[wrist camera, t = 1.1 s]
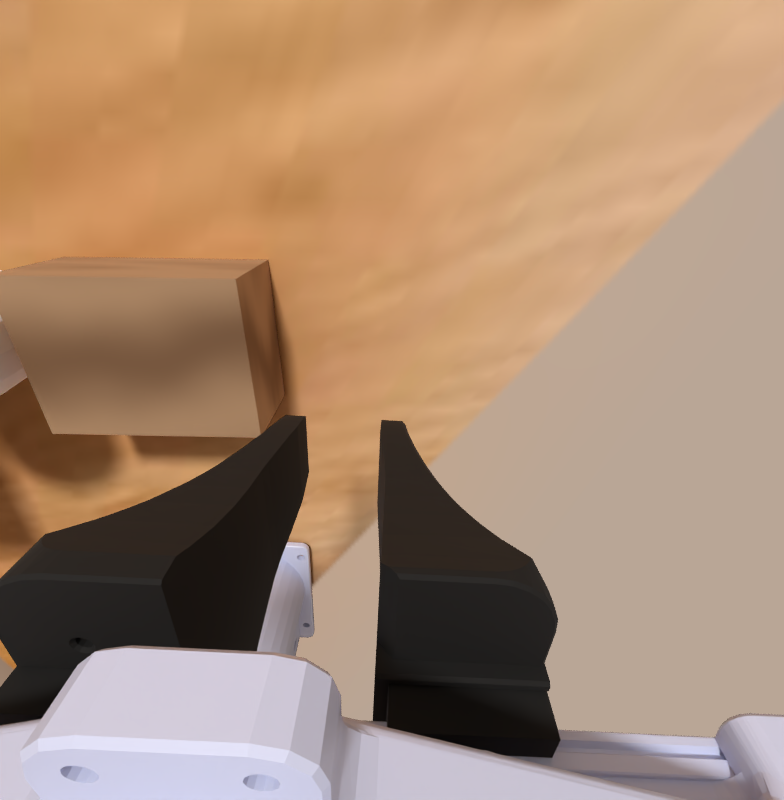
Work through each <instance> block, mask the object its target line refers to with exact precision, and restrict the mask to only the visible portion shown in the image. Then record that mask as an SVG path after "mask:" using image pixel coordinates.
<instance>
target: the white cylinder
mask: <svg viewBox="0 0 784 800" xmlns="http://www.w3.org/2000/svg"><path fill="white" fill-rule="evenodd" d="M0 271H2V270H0ZM26 378H27V375H26V373H25V370H24V368H23V366H22V364H21V361H20V359H19V357H18V354H17V352H16V350H15V348H14V345H13V343H12V341H11V338H10V336H9V334H8V332H7V329H6V327H5V325H4V322H3V320H2V318H1V316H0V396H1V395H2V394H3V393H5V392H6V391H8V390H9V389H11V388H12V387H14V386H15V385H17V384H18V383H20V382H21V381H23V380H24V379H26Z"/></svg>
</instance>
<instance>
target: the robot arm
mask: <svg viewBox="0 0 784 800" xmlns="http://www.w3.org/2000/svg"><path fill="white" fill-rule="evenodd" d="M308 473H309V466H308V449H307V431H306V416H290V415H285V416H284V417H282V418H281V419H280V420H278V421H277V422H276V423H274V424H273V425H272V426H271V427H269V428H268V429H267V430H266V431H264V432H263V433H262V434H261V435H259V436H258V437H257V438H255V439H254V440H253V441H251V442H250V443H249V444H247V445H246V446H245V447H243V448H242V449H240V450H239V451H237V452H236V453H235V454H233V455H232V456H230V457H229V458H227V459H226V460H224V461H223V462H221V463H220V464H218V465H217V466H215V467H213V468H212V469H210V470H208V471H207V472H205V473H203V474H201V475H199V476H198V477H196V478H194V479H192V480H190V481H189V482H187V483H185V484H183V485H180V486H178V487H176V488H174V489H172V490H170V491H167V492H165V493H163V494H161V495H159V496H157V497H154V498H152V499H150V500H148V501H145V502H143V503H140V504H138V505H135V506H132V507H130V508H127V509H125V510H122V511H119V512H116V513H113V514H111V515H108V516H105V517H102V518H99V519H96V520H92V521H89V522H86V523H82V524H79V525H76V526H72V527H69V528H66V529H62V530H59V531H55V532H52V533H48V534H45V535H44V536H43V537H42V538H41V539H40V540H39V541H38V542H37V543H36V544H35V545H34V546H33V547H32V548H31V549H30V550H29V551H28V552H27V553H26V554H25V555H24V556H23V557H22V558H21V559H20V560H19V561H18V562H17V563H16V564H15V565H14V566H13V567H11V568H10V569H9V570H8V571H7V572H6V573H5V574H4V575H3V576H2V577H1V578H0V640H1V641H2V643H3V644H4V646H5V648H6V649H7V651H8V652H9V654H10V655H11V657H12V659H13V660H14V662H15V663H16V665H17V667H16V668H15V669H14V671H13V672H12V673H11V674H10V676H9V677H8V678H7V679H6V681H5V682H4V683H3V685H2V686H1V687H0V800H784V715H772V714H752V713H749V714H739V715H736V716H733V717H730V718H729V719H727V720H726V721H725V722H724V723H723V724H722V725H721V726H720V728H719V730H718V732H717V734H716V737H698V736H677V735H656V734H655V735H654V734H635V733H614V732H592V731H572V730H558V729H557V725H556V722H555V719H554V715H553V711H552V708H551V704H550V701H549V697H548V694H547V691H549V689H550V680H549V677H548V674H547V670H546V667H545V664H544V663H545V660H546V657H547V655H548V651H549V649H550V646H551V644H552V641H553V638H554V636H555V633H556V628H557V622H558V618H557V614H556V610H555V607H554V604H553V601H552V598H551V596H550V593H549V591H548V589H547V586H546V584H545V582H544V580H543V579H542V577H541V575H540V573H539V571H538V569H537V567H536V565H535V563H534V561H533V559H532V558H531V557H529V556H527V555H526V554H524V553H523V552H521V551H519V550H517V549H516V548H515V547H513V546H511V545H510V544H508V543H506V542H505V541H503V540H501V539H500V538H499V537H497V536H496V535H494V534H493V533H492V532H490V531H489V530H488V529H486V528H485V527H484V526H482V525H481V524H480V523H479V522H477V521H476V520H475V519H474V518H473V517H471V516H470V515H469V514H468V513H467V512H466V511H465V510H464V509H462V508H461V507H460V506H459V505H458V504H457V503H456V502H455V501H454V500H453V499H452V498H451V497H450V496H449V494H448V493H447V492H446V491H445V490H444V489H443V488H442V486H441V485H440V484H439V483H438V481H437V480H436V479H435V478H434V476H433V475H432V473H431V472H430V470H429V469H428V468H427V466H426V465H425V463H424V462H423V460H422V458H421V457H420V455H419V453H418V452H417V450H416V448H415V446H414V444H413V442H412V440H411V438H410V436H409V434H408V431H407V429H406V425H405V424H404V423H403V422H402V421H388V420H382V422H381V430H380V455H379V479H378V528H379V550H380V587H379V607H378V629H377V649H376V666H375V687H374V707H373V721H360V720H355V719H350V718H346V717H342V715H341V695H340V693H339V691H338V689H337V686H336V685H335V682H334V680H333V678H332V677H331V676H330V674H329V673H328V672H327V671H325V670H323V669H322V668H320V667H318V666H317V665H315V664H314V663H312V662H310V661H308V660H307V659H305V658H301V657H296V656H295V655H296V651H297V646H298V642H299V637H311V636H313V634H314V617H313V599H312V583H311V568H310V552H309V546H308V545H307V544H305V543H297V542H287V541H288V539H289V536H290V533H291V531H292V528H293V525H294V523H295V520H296V517H297V514H298V511H299V509H300V506H301V503H302V500H303V496H304V492H305V487H306V483H307V478H308ZM301 555H303V556H301Z"/></svg>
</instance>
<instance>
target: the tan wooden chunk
mask: <svg viewBox="0 0 784 800" xmlns="http://www.w3.org/2000/svg"><path fill="white" fill-rule="evenodd" d="M0 316H1V318H2V320H3V322H4V325H5V327H6V329H7V332H8V334H9V336H10V338H11V341H12V343H13V345H14V348H15V350H16V352H17V354H18V357H19V359H20V361H21V364H22V366H23V368H24V370H25V373H26V375H27V377H28V379H29V382H30V384H31V386H32V389H33V391H34V393H35V395H36V398H37V400H38V402H39V405H40V407H41V409H42V411H43V414H44V416H45V418H46V421H47V423H48V425H49V427H50V430H51V432H52V434H91V435H142V436H193V437H244V438H257V437H258V436H259V435H261V434H262V433H263V432H264V431H265V430H266V428H267V427H268V425H269V423H270V421H271V419H272V417H273V416H274V414H275V412H276V410H277V408H278V406H279V404H280V403H281V401H282V399H283V397H284V395H285V393H284V385H283V376H282V368H281V360H280V352H279V344H278V336H277V328H276V320H275V312H274V303H273V295H272V287H271V279H270V271H269V263H268V260H259V259H187V258H115V257H61V258H57V259H52V260H48V261H44V262H39V263H35V264H30V265H26V266H22V267H17V268H13V269H8V270H4V271H0Z"/></svg>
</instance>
